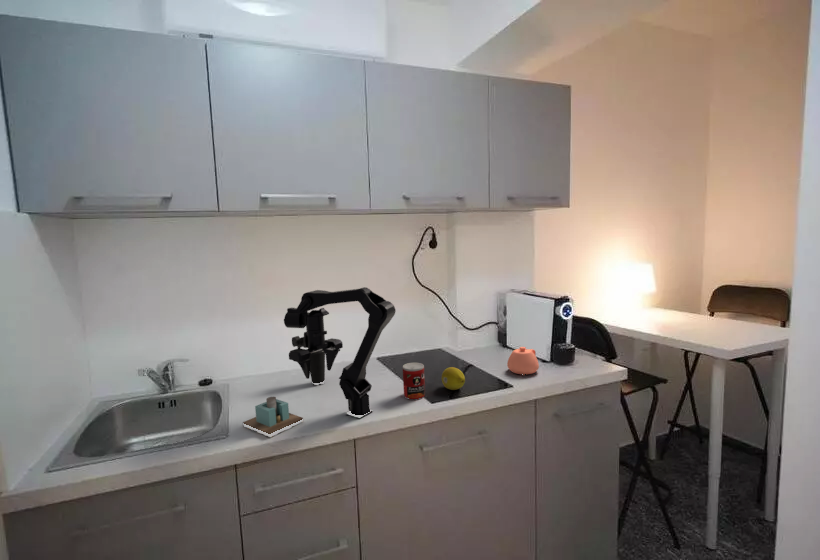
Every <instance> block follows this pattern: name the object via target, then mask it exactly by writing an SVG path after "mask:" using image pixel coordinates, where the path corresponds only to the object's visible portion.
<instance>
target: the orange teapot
mask: <svg viewBox="0 0 820 560" xmlns="http://www.w3.org/2000/svg"><path fill="white" fill-rule="evenodd" d="M506 366H507V368H508V370H509V371H511V372H512V373H514V374H517V375H521V374H523V375H522V376H526V375H532V374H534V373H536V372H537V371H538V370H539V368H540V365H539V361H538V358H537V356H536V350H535V349H534V348H530V349H528V348H526V347H525V346H520V347H519V348H516V349H514V350H512V351H511V354H510V355H509V356H508V360H507V365H506ZM525 374H526V375H525Z"/></svg>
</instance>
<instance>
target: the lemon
mask: <svg viewBox="0 0 820 560" xmlns="http://www.w3.org/2000/svg"><path fill="white" fill-rule="evenodd" d="M440 377H441V383H442V384H443V386H444V387H445V388H446V389H448V390H451V391H455V390H460V389H461V388H462V387H464V385H465V383H466V377H465V374H464V373H463V371H461V370H460V369H459V368H457V367H453V366H451V367H447V368H446V369H444V370H443V371H442V374H441V376H440Z"/></svg>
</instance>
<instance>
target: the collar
mask: <svg viewBox="0 0 820 560" xmlns="http://www.w3.org/2000/svg"><path fill="white" fill-rule="evenodd" d="M276 406H277V415H280V419H281V420H282V421H284V420H286V419H289V413H290V411H289V409H290V408H289V402H286V401H284V400H281V399H278V398H276ZM254 407H255V408H254V409H255V417H256V421H257V422H259V423H261V424H264V425H266V426H269V427H271V426H273V425H275V424H276V413H275V408H273V407H272V408H267V401H265V402H262V403H260V404H257V405H255V406H254Z"/></svg>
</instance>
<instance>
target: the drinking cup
mask: <svg viewBox="0 0 820 560" xmlns="http://www.w3.org/2000/svg"><path fill="white" fill-rule="evenodd" d="M309 359H311V365H310V379H311V383H312V382H313V383H320V382H323V381H324V380H325V379H326V378H325V377H326V376H325V375H326V373H325V371H326V354H325V352H324V350H322V351H319V352H316V353H313V354H310V357H309ZM325 381H326V380H325Z"/></svg>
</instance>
